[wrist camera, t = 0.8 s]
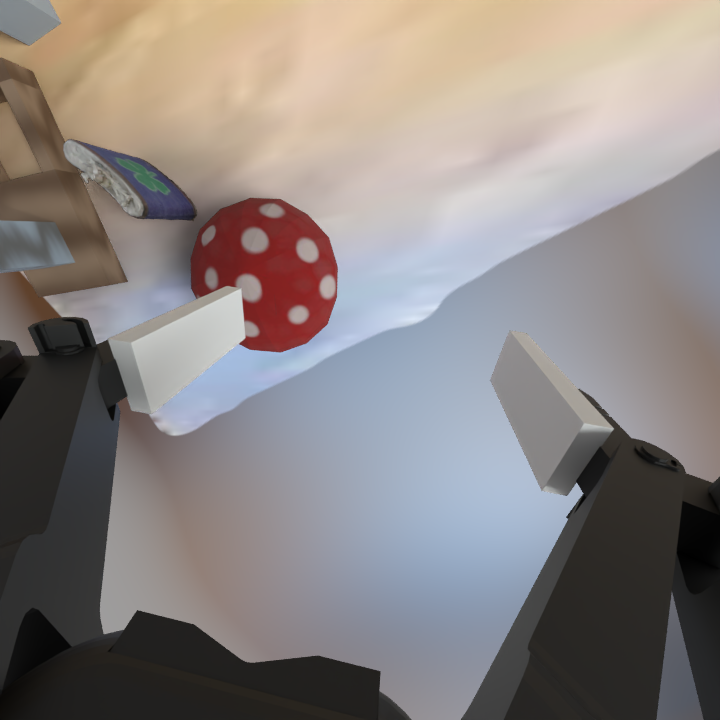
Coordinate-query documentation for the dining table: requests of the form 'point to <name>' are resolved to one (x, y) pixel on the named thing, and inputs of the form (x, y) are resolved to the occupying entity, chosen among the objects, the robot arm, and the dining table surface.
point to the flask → (131, 182)
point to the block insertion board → (49, 204)
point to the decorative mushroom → (269, 270)
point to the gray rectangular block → (27, 19)
